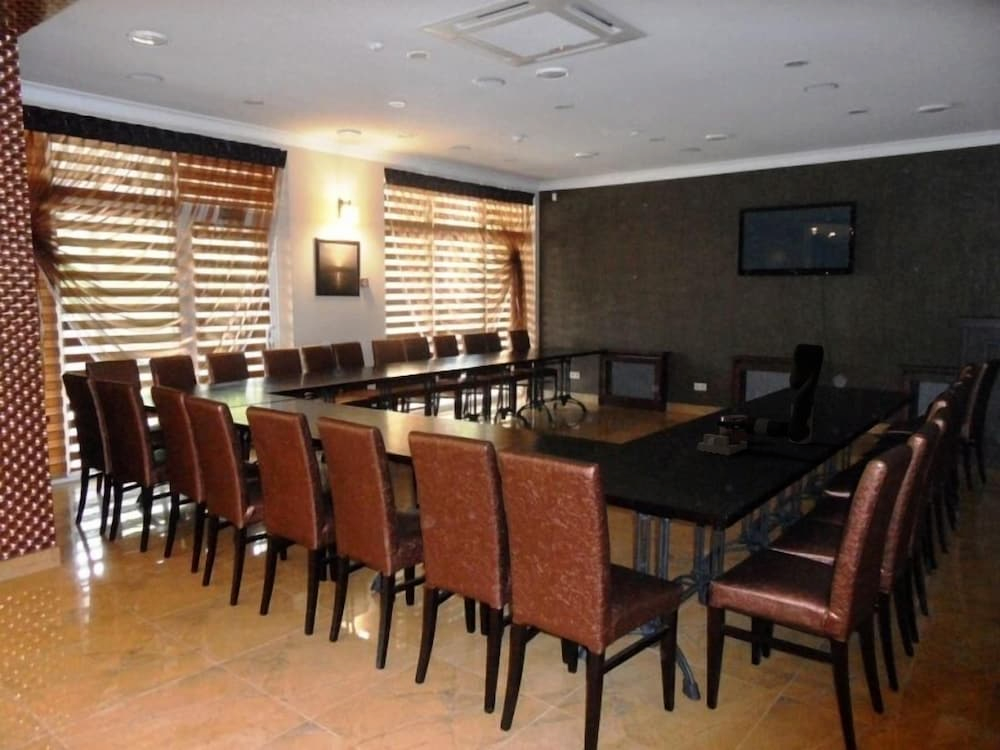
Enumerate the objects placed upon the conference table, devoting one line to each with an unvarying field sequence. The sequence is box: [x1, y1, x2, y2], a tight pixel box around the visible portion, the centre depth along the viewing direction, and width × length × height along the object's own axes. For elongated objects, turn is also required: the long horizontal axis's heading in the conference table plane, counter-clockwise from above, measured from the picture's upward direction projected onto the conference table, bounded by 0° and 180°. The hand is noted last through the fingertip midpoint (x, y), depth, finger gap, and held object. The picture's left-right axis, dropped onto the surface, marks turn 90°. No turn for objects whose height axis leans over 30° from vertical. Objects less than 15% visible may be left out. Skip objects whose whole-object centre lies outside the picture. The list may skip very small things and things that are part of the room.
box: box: [730, 414, 749, 443], centre depth 328 cm, size 10×6×12 cm, turn 112°
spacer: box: [719, 415, 733, 441], centre depth 312 cm, size 5×5×10 cm
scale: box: [697, 433, 748, 456], centre depth 311 cm, size 19×14×7 cm
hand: (721, 421), depth 313 cm, fingers open, 8 cm apart
